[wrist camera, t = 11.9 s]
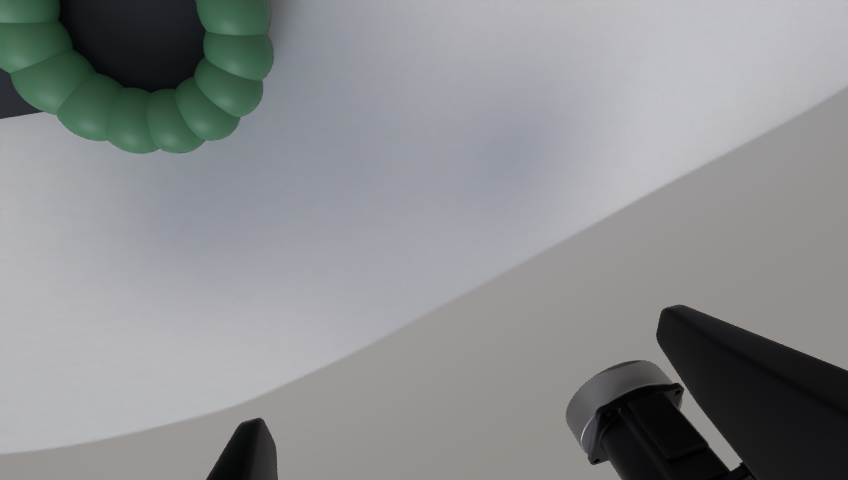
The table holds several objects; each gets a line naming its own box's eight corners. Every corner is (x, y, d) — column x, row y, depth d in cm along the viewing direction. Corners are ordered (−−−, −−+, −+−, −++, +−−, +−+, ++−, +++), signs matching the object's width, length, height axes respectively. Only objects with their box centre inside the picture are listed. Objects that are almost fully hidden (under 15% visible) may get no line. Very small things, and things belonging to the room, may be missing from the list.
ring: (301, 121, 16) (302, 138, 14) (77, 162, 15) (49, 186, 13) (228, -154, 12) (217, -173, 10) (-91, -125, 11) (-160, -141, 9)
